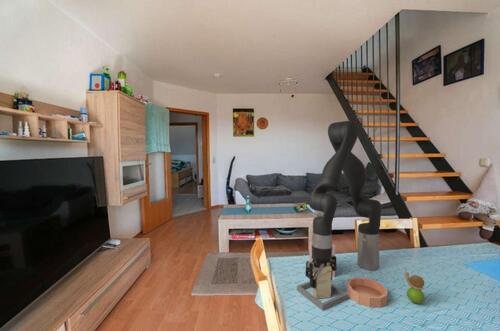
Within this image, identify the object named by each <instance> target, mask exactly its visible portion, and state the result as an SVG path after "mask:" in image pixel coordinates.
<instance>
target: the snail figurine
mask: <svg viewBox="0 0 500 331" xmlns="http://www.w3.org/2000/svg"><path fill="white" fill-rule="evenodd" d="M409 274H410V273H409V271H407V268H406V267H405V268H404V276H405V280H406V282H407V284H408V286H410V287H409V288H407V291H406V297H407V298H408V300H410V302H412V303H414V304H418V305H419V304H422V303H423V302H424V301H425V294H424V292H423V291H422V290H425V287H424V286H425V280H424V279H423V278H422V277H421V276H419V275H416V274H413V275H411V276H410V275H409ZM409 276H410V277H409Z"/></svg>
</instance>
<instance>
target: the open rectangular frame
mask: <svg viewBox="0 0 500 331" xmlns="http://www.w3.org/2000/svg"><path fill="white" fill-rule="evenodd" d="M310 288H312V287H311V286H310V280H309V281H307V282H304V283H301V284H298V285H296V292H298V293H299V294H301V295H302V296H303V297H304V298H306V299H307V300H308V301H310V302H311V303H312V304H314V305H315V306H316V307H317V308H318V309H320V311H322V312H323V311H325V310H327V309H329V308H332V307H334V306H336V305H339V304H341V303H344V302H346V301H348V297H349V295H348V294H347V292H345V291H343V290H341V289H340V288H338V287H337V286H335V285H334V284H332V283H331V293H334V294H335V295H337V296H336V297H333V298H331V299H328V300H326V301H324V302H322V301H321V300H319V298H316V297H315V296H314V295H313V294H312V293H310V292H309V291H307V289H310Z"/></svg>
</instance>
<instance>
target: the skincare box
mask: <svg viewBox="0 0 500 331" xmlns="http://www.w3.org/2000/svg"><path fill="white" fill-rule="evenodd" d="M331 269H332V267H331V266H324V267H323V268H322V269H321V271H320V273H319V275H317V277H316V288H315V289H313V288H312V287H311V294H312V295H313V296H314V297H315V298H317V299H329V298H332V291H331V284H332V282H331ZM314 270H315V271H317V270H318V268H315V267H314ZM314 274H315V272H314V273H313V276H314Z"/></svg>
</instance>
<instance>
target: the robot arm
mask: <svg viewBox="0 0 500 331" xmlns="http://www.w3.org/2000/svg"><path fill="white" fill-rule="evenodd" d="M359 133H360V130H359V126H358V123H357V122H356V121H354V120H345V121H336V122H332V123H330V124H329V125H328V128H327V134H328V139H329V142H330V144H331V146H332V148H333V150H334V152H335V153H334V154H333V155H332V156H331V158H330V159H329V160H328V161H326V163H325V165H324V167H323V169H322V173H321V175H320V178H319V181H318V182H317V184H316V186H315V187H314V188H313V190H312V192H310V194H309V198H308V206H309V207H310V209H311V210H314V211H318V212H321V213H323V215H322V216H315V217H314V218H313V220H312V235H311V240H312V256H313V261H312V262H309V260H307V261H306V263H305V274H304V275H305V277H307V278H308V279H309V281H310V286H311V287H310V288H311V289H312V288H313V289H315V288H316V277H317V275H319V273H320V271H321V269H322V268H323V267H324V266H331V267H332V269H331V283H332V281H333V277H332V273H333V271H335V272H336V271H337V269H338V267H337V256H336V255H335V256H334V255H332V244H333V236H332V233H333V231H332V229H333V228H332V226H333V221H334V217H335V213H336V210H337V208H338V200H337V198H336V196H335V195H333V194H330V193H327V192H331V191H335V190H337V189H338V185H339V182H340V179H341V176H342V173H343V175H344V179H345V181H346V183H347V186H348V189H349V193H350V196H351V199H352V200H351V201H352V205H353V209H354V212H355V213H356V215H357V216H359V217H361V218H365V219H366V218H367V219H368V222H363V223H360V224H358V226H357V256H356V257H357V261H356V262H357V263H356V264H357V266H358V267H359V268H360V269H363V270H367V271H376V270H378V269H379V267H380V227H381V219H382V204H381V201H379V200H377V199H372V198H371V199H370V198H365V197H364V195H363V190H364V188H365V186H366V183H367V180H368V173H367V171H366V167H365V164H364V163H363V161H361V159H360V158H359V157H357V155H355V154H354V153H353V152H352V150H353V148H354V146H355V144H356V142H357V139H358V137H359ZM329 263H330V264H329ZM333 266H334V267H333ZM314 267H315V268H318V270H317V271H315V270H314ZM314 272H315V274H314V276H313V273H314Z"/></svg>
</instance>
